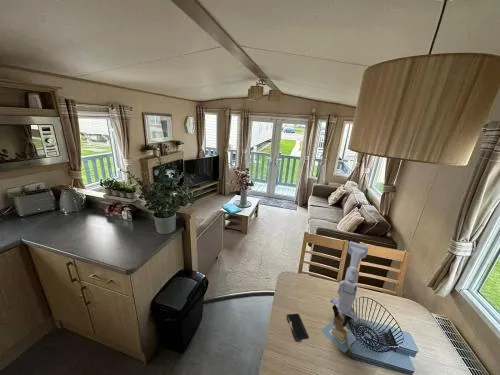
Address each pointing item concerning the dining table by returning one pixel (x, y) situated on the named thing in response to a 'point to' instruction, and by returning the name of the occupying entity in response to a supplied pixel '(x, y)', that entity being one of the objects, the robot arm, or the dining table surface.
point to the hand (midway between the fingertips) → (340, 321)
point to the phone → (297, 327)
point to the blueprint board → (334, 337)
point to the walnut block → (339, 321)
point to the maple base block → (340, 333)
